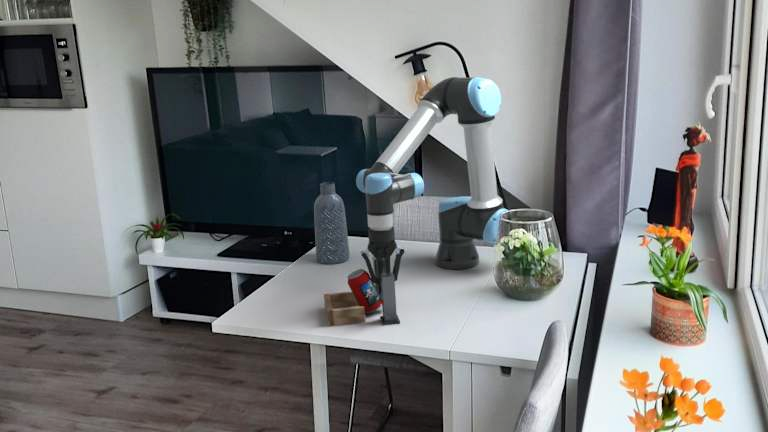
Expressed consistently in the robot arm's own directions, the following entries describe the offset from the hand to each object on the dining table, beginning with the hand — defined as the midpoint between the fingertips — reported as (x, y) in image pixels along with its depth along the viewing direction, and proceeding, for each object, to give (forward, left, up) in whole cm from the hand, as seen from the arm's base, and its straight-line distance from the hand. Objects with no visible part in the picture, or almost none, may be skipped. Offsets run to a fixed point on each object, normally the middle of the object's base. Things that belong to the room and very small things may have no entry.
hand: (385, 303), depth 225 cm
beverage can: (+4, 0, -1) cm, 4 cm away
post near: (0, +8, -2) cm, 8 cm away
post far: (0, -9, -2) cm, 9 cm away
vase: (+11, -55, -3) cm, 57 cm away
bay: (+12, 0, -2) cm, 12 cm away
